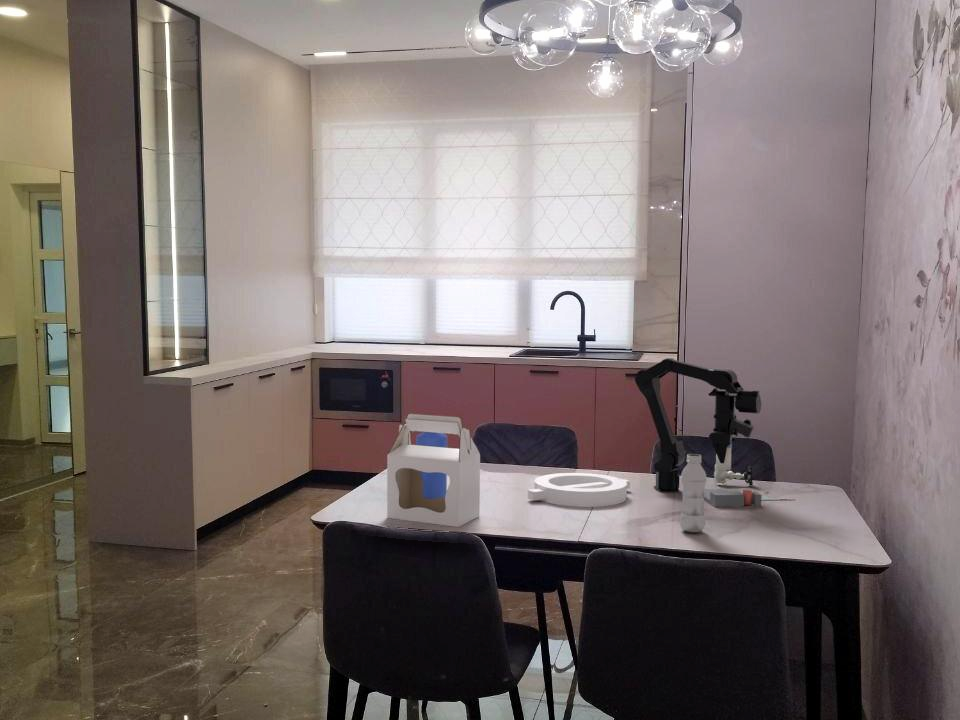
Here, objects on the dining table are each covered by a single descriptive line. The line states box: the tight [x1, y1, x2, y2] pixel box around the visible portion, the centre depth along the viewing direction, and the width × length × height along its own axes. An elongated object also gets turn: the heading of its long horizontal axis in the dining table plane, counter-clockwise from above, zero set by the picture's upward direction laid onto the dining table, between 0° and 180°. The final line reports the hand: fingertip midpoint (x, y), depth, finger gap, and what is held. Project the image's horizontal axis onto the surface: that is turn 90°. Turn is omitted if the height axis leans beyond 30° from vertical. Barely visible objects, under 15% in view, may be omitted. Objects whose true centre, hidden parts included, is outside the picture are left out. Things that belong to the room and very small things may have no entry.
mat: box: [761, 496, 790, 501], centre depth 260 cm, size 12×10×1 cm
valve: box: [713, 464, 754, 486], centre depth 277 cm, size 7×7×12 cm
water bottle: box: [415, 432, 449, 499], centre depth 251 cm, size 9×9×25 cm
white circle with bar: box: [527, 472, 631, 508], centre depth 259 cm, size 28×28×5 cm
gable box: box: [386, 413, 481, 528], centre depth 230 cm, size 22×13×28 cm, turn 65°
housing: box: [703, 488, 762, 508], centre depth 256 cm, size 14×19×4 cm
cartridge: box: [715, 442, 733, 471], centre depth 258 cm, size 5×5×8 cm
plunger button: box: [742, 489, 753, 506], centre depth 249 cm, size 3×3×4 cm
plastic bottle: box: [679, 453, 707, 534], centre depth 218 cm, size 6×7×20 cm
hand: (723, 462), depth 258 cm, fingers closed on cartridge, 4 cm apart
